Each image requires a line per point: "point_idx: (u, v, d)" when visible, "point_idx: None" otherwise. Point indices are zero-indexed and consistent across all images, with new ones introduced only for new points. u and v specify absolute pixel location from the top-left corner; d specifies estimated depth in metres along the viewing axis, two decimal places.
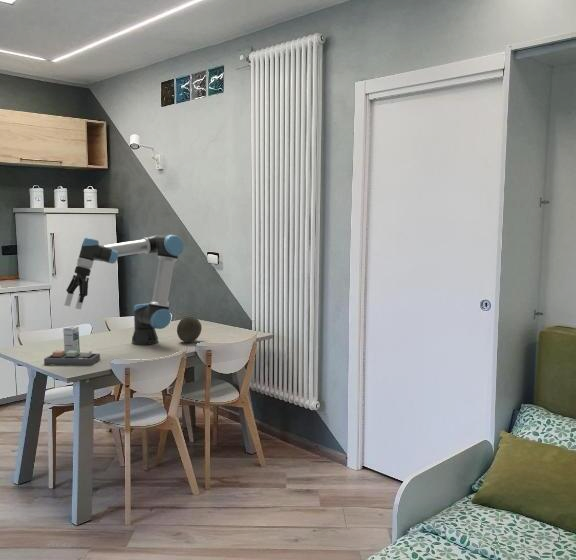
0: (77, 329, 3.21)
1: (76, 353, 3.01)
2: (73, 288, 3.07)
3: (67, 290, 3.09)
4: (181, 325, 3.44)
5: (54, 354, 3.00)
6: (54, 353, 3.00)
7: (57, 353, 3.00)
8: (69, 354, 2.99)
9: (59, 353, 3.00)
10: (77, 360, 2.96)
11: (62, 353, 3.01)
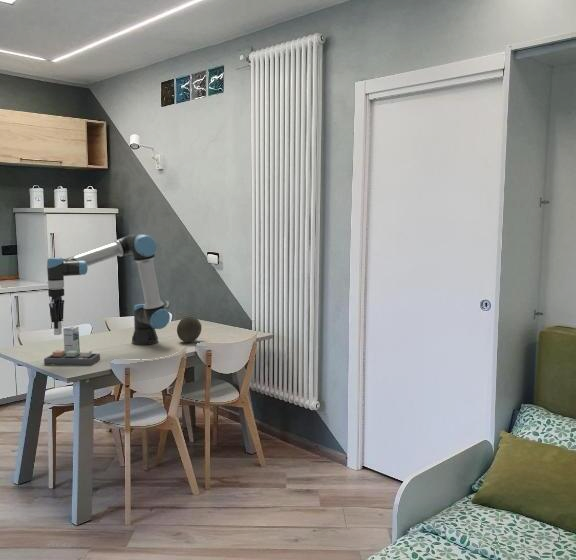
0: (77, 329, 3.21)
1: (76, 353, 3.01)
2: None
3: None
4: (181, 325, 3.44)
5: (54, 354, 3.00)
6: (54, 353, 3.00)
7: (57, 353, 3.00)
8: (69, 354, 2.99)
9: (59, 353, 3.00)
10: (77, 360, 2.96)
11: (62, 353, 3.01)
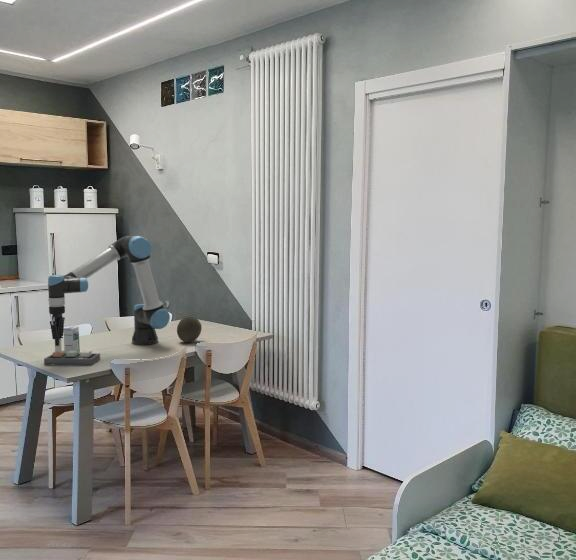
0: (77, 329, 3.21)
1: (76, 353, 3.01)
2: None
3: None
4: (181, 325, 3.44)
5: (54, 354, 3.00)
6: (54, 353, 3.00)
7: (57, 353, 3.00)
8: (69, 354, 2.99)
9: (59, 353, 3.00)
10: (77, 360, 2.96)
11: (62, 353, 3.01)
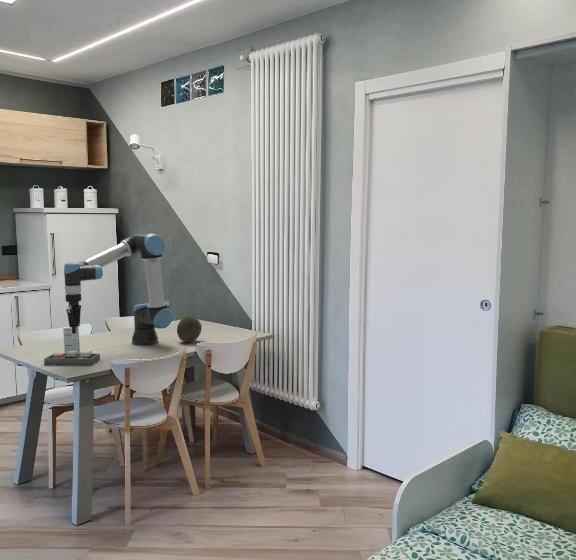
0: None
1: (76, 353, 3.01)
2: None
3: None
4: (181, 325, 3.44)
5: (54, 356, 3.00)
6: (54, 355, 3.00)
7: (57, 355, 3.00)
8: (69, 354, 2.99)
9: (59, 355, 3.00)
10: (77, 360, 2.96)
11: (62, 355, 3.01)
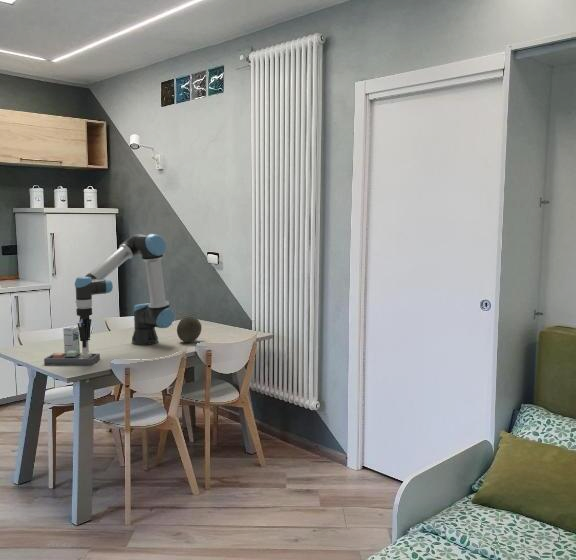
0: (77, 329, 3.21)
1: (76, 353, 3.01)
2: None
3: None
4: (181, 325, 3.44)
5: (54, 356, 3.00)
6: (54, 355, 3.00)
7: (57, 355, 3.00)
8: (69, 354, 2.99)
9: (59, 355, 3.00)
10: (77, 360, 2.96)
11: (62, 355, 3.01)
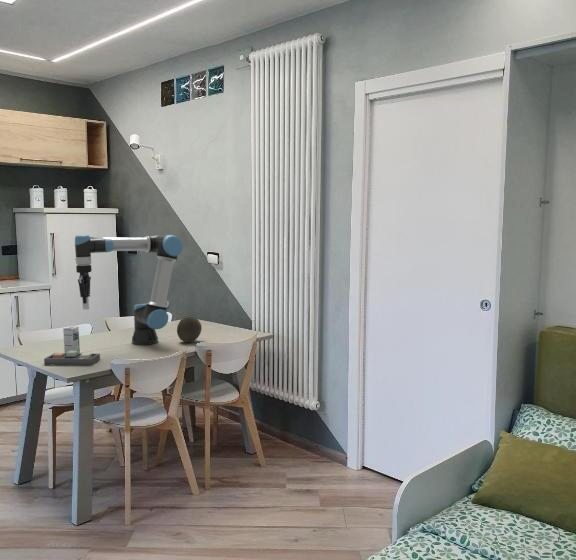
0: (77, 329, 3.21)
1: (76, 353, 3.01)
2: None
3: None
4: (181, 325, 3.44)
5: (54, 356, 3.00)
6: (54, 355, 3.00)
7: (57, 355, 3.00)
8: (69, 354, 2.99)
9: (59, 355, 3.00)
10: (77, 360, 2.96)
11: (62, 355, 3.01)
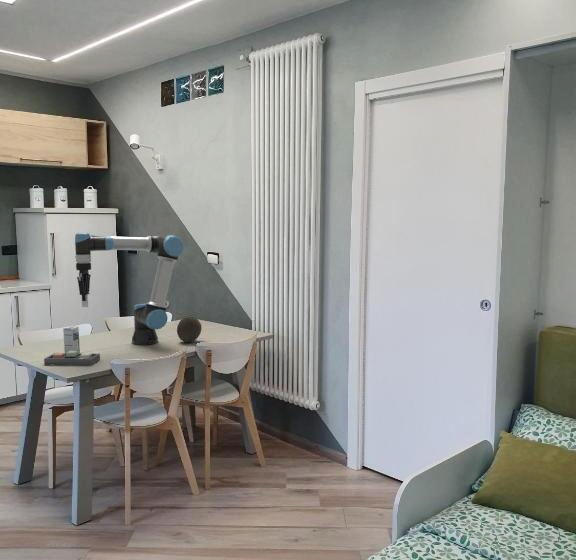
0: (77, 329, 3.21)
1: (76, 353, 3.01)
2: None
3: None
4: (181, 325, 3.44)
5: (54, 356, 3.00)
6: (54, 355, 3.00)
7: (57, 355, 3.00)
8: (69, 354, 2.99)
9: (59, 355, 3.00)
10: (77, 360, 2.96)
11: (62, 355, 3.01)
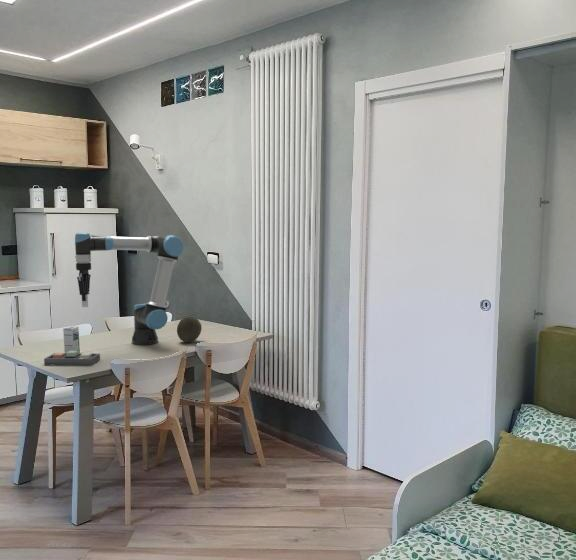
0: (77, 329, 3.21)
1: (76, 353, 3.01)
2: None
3: None
4: (181, 325, 3.44)
5: (54, 356, 3.00)
6: (54, 355, 3.00)
7: (57, 355, 3.00)
8: (69, 354, 2.99)
9: (59, 355, 3.00)
10: (77, 360, 2.96)
11: (62, 355, 3.01)
